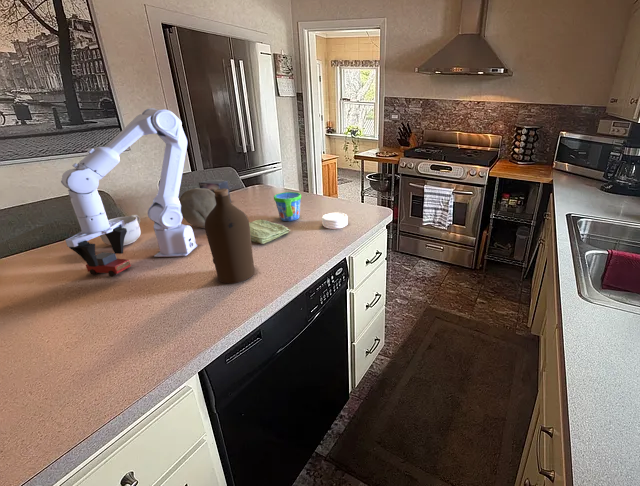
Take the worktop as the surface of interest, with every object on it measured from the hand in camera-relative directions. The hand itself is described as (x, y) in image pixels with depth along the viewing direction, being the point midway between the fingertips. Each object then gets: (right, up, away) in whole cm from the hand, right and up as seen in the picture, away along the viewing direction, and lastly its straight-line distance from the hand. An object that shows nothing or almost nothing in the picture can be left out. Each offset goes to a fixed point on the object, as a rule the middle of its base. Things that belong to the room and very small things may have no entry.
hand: (106, 259), depth 91 cm
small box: (-3, +19, +61) cm, 64 cm away
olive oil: (+36, -5, +1) cm, 37 cm away
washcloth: (+32, +6, +28) cm, 43 cm away
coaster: (+57, +9, +38) cm, 69 cm away
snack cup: (+37, +11, +43) cm, 58 cm away
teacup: (-12, +4, +21) cm, 24 cm away
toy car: (0, -4, +1) cm, 4 cm away
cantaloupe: (+7, +8, +34) cm, 36 cm away
